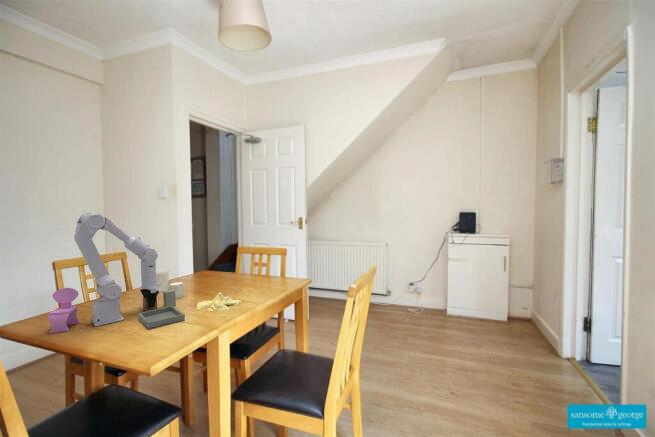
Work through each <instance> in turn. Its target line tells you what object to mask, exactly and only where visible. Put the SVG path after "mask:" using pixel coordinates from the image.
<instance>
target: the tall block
mask: <svg viewBox="0 0 655 437" xmlns="http://www.w3.org/2000/svg"><path fill="white" fill-rule="evenodd" d="M162 296H163V308H165V307H169V306H173V307H176V306H177V302H176V300H177V299H176V298H175V291H174V290H173V289H171V290H170V289H168V290H166V291H163V292H162Z"/></svg>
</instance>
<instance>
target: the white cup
mask: <svg viewBox="0 0 655 437" xmlns="http://www.w3.org/2000/svg"><path fill="white" fill-rule="evenodd" d="M156 283H159V284H160V285H159V286H157V287H156V291H157V290H158V291H159V293H161V292H162V293H163V291H166V290H169V271H168V270H158V271H157V270H156Z"/></svg>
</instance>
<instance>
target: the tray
mask: <svg viewBox="0 0 655 437" xmlns="http://www.w3.org/2000/svg"><path fill="white" fill-rule="evenodd" d="M137 318H138V321H139V322H140V323H142V325H143V326H144V327H145V328H146V329H147V330H152V329H156V328H160V327H165V326H169V325H172V324H176V323H179V322H184V321H185V313H184V312H181V310H179V309H178V308H177V307H176V306H174V307H173V306H169V307H161V308H157V309H155V310H150V311H142V312H139V313H138V316H137Z"/></svg>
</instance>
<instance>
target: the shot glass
mask: <svg viewBox="0 0 655 437" xmlns="http://www.w3.org/2000/svg"><path fill="white" fill-rule="evenodd" d="M168 288H169V290H171V289H173V290H174V291H175V298H176V300H178V299H182V298H184V291H185V282H183V281H177V282H171V283H168Z"/></svg>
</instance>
